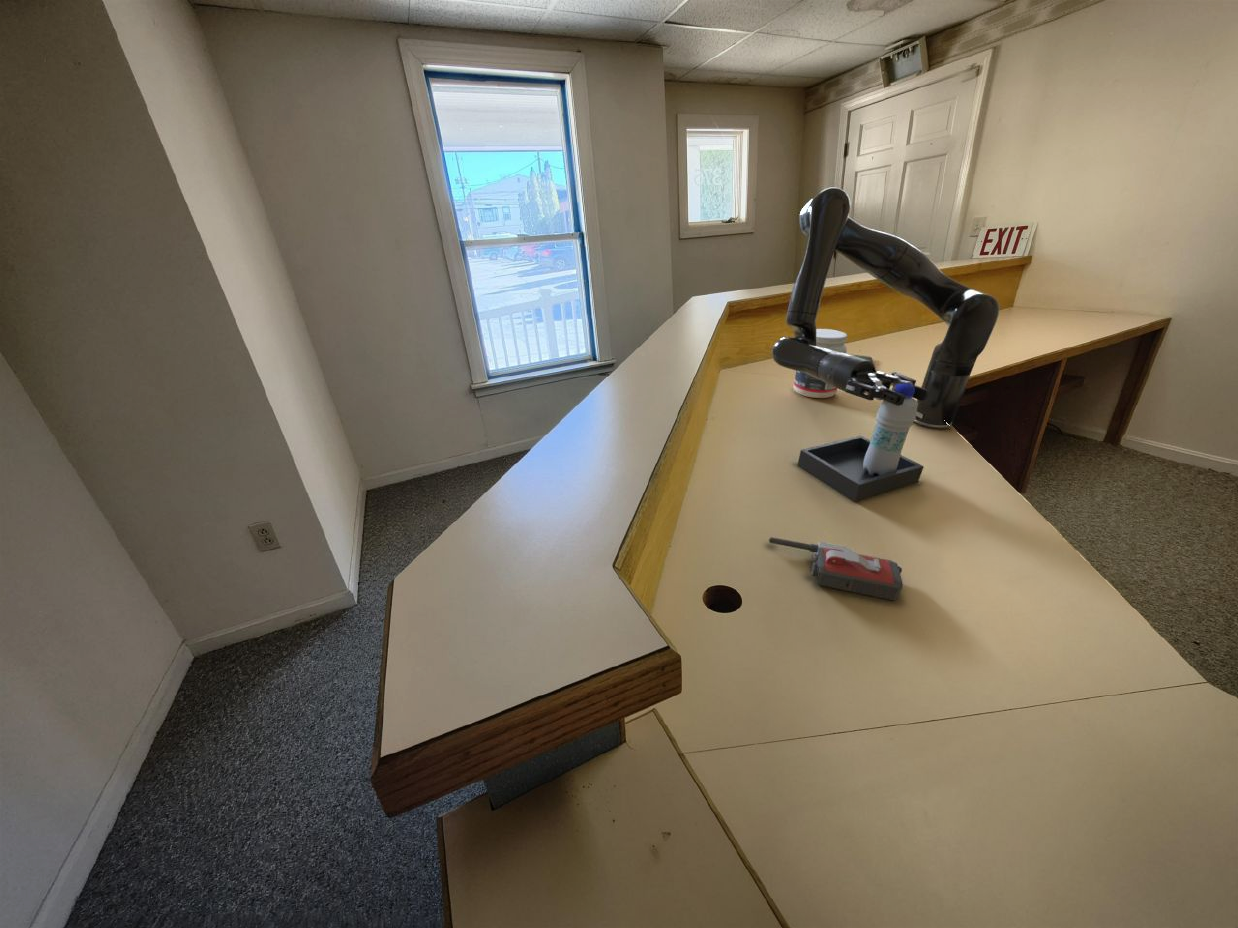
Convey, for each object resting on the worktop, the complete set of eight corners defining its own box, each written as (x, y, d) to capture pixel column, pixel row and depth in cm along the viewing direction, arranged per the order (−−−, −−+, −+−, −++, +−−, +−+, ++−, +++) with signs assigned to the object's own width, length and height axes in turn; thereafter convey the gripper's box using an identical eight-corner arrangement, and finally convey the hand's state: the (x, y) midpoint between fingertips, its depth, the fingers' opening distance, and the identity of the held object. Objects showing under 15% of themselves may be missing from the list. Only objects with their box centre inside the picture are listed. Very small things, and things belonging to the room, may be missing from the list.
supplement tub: (795, 383, 149) (805, 326, 140) (837, 388, 145) (851, 330, 135) (789, 396, 139) (800, 336, 130) (834, 402, 135) (849, 340, 125)
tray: (856, 450, 108) (860, 435, 106) (917, 482, 96) (924, 466, 94) (797, 465, 102) (800, 449, 100) (854, 502, 90) (859, 484, 88)
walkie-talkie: (895, 566, 74) (768, 541, 79) (904, 545, 71) (772, 521, 77) (906, 605, 66) (765, 575, 72) (916, 583, 64) (769, 554, 70)
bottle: (899, 482, 94) (932, 391, 84) (864, 479, 95) (892, 389, 85) (889, 466, 99) (919, 379, 89) (856, 463, 101) (882, 377, 91)
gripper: (823, 359, 95) (893, 384, 82) (873, 351, 100) (947, 374, 87) (816, 393, 99) (881, 422, 86) (864, 384, 104) (934, 410, 90)
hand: (914, 398), depth 86 cm, fingers closed on bottle, 5 cm apart
